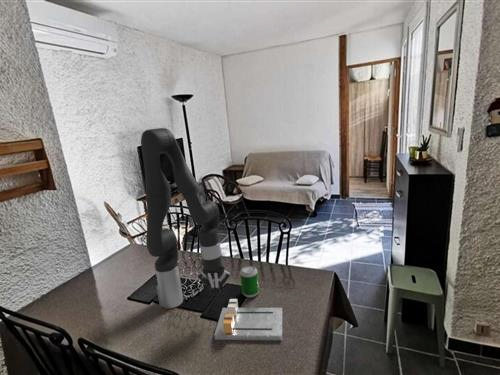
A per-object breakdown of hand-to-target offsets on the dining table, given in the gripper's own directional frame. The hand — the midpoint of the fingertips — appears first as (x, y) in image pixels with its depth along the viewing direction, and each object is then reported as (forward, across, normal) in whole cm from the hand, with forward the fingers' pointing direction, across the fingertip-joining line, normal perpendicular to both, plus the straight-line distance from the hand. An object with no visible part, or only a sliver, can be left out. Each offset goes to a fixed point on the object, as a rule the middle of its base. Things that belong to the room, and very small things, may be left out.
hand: (217, 294), depth 114 cm
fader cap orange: (+8, +6, -9) cm, 13 cm away
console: (+10, +13, -4) cm, 17 cm away
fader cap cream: (+8, +6, 0) cm, 10 cm away
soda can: (+10, +10, +16) cm, 22 cm away
